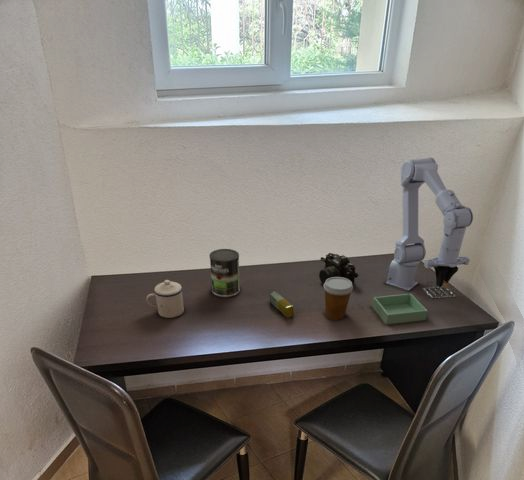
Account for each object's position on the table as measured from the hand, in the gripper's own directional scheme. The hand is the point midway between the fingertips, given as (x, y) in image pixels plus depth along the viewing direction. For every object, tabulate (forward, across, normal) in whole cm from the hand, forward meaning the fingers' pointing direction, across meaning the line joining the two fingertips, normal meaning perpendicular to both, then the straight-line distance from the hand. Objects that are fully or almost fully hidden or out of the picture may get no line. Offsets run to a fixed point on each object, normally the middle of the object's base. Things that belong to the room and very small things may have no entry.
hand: (440, 285), depth 152 cm
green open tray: (+9, -14, 0) cm, 16 cm away
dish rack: (+3, 0, 0) cm, 3 cm away
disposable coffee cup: (+10, -34, +4) cm, 36 cm away
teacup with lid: (+10, -90, +16) cm, 92 cm away
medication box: (+10, -52, +10) cm, 53 cm away
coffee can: (+10, -68, +28) cm, 74 cm away
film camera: (+10, -27, +26) cm, 39 cm away
